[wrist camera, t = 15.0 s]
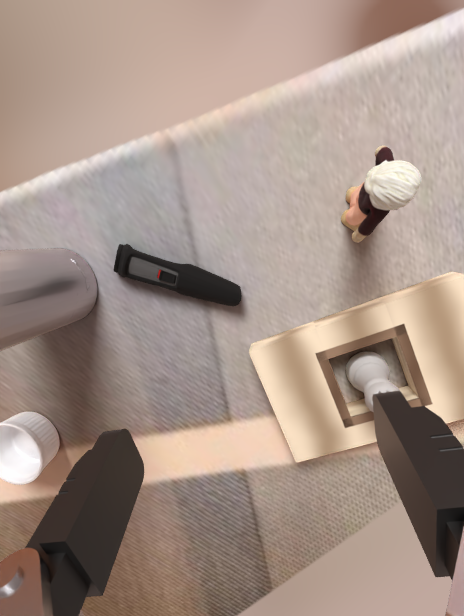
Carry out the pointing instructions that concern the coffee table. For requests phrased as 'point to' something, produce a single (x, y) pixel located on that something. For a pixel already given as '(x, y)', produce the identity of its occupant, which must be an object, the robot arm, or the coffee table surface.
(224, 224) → the coffee table surface
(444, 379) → the socket board
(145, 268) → the electric trimmer
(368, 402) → the rook chess piece
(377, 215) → the grandmother figurine
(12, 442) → the ramekin
